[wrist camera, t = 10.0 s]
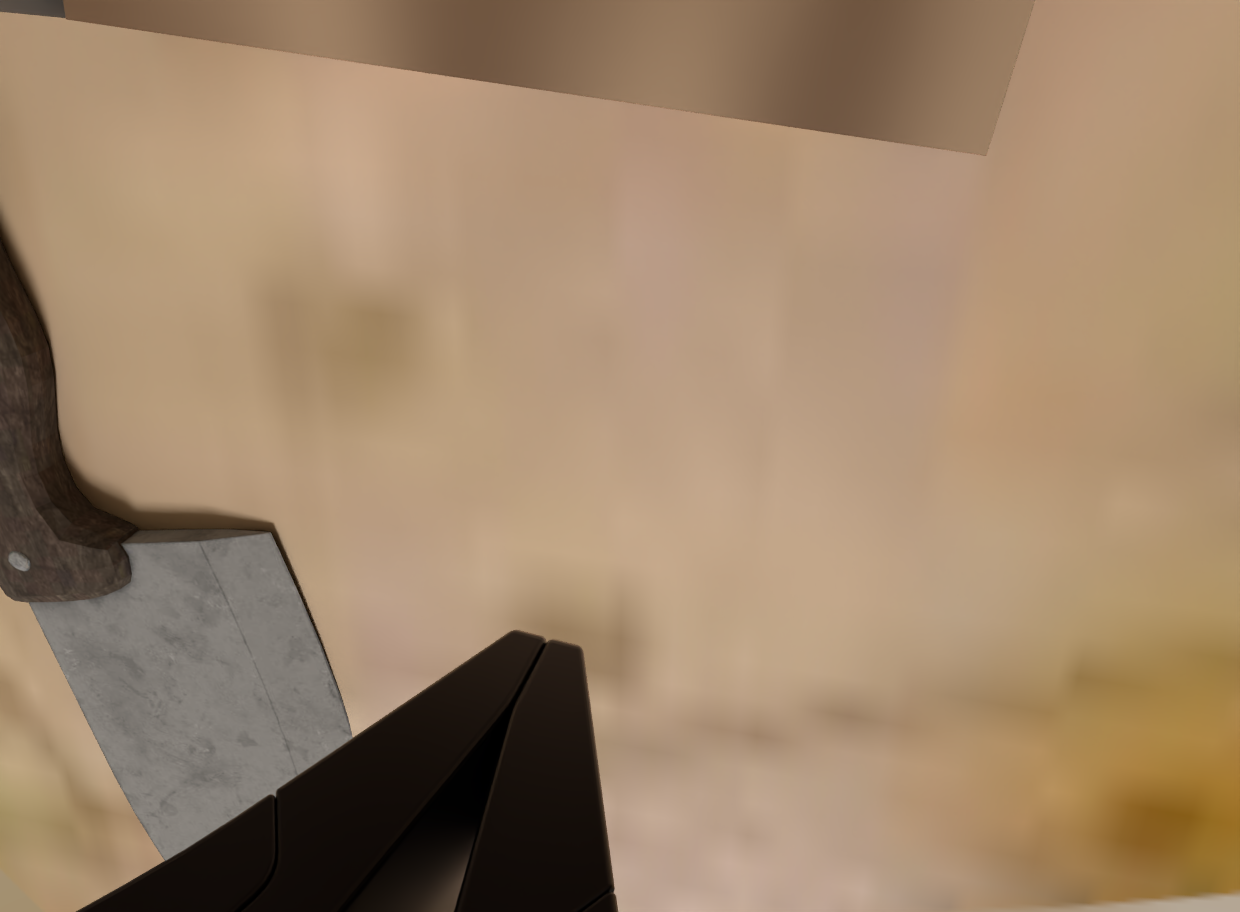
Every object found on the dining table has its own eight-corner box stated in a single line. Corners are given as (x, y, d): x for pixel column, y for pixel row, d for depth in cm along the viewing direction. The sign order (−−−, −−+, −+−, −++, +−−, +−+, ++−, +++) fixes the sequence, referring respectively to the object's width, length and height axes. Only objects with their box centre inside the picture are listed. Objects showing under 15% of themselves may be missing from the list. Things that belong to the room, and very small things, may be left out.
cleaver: (-194, 78, 20) (-294, 78, 18) (126, 19, 18) (50, 13, 16) (199, 870, 32) (163, 919, 30) (418, 891, 30) (394, 945, 28)
